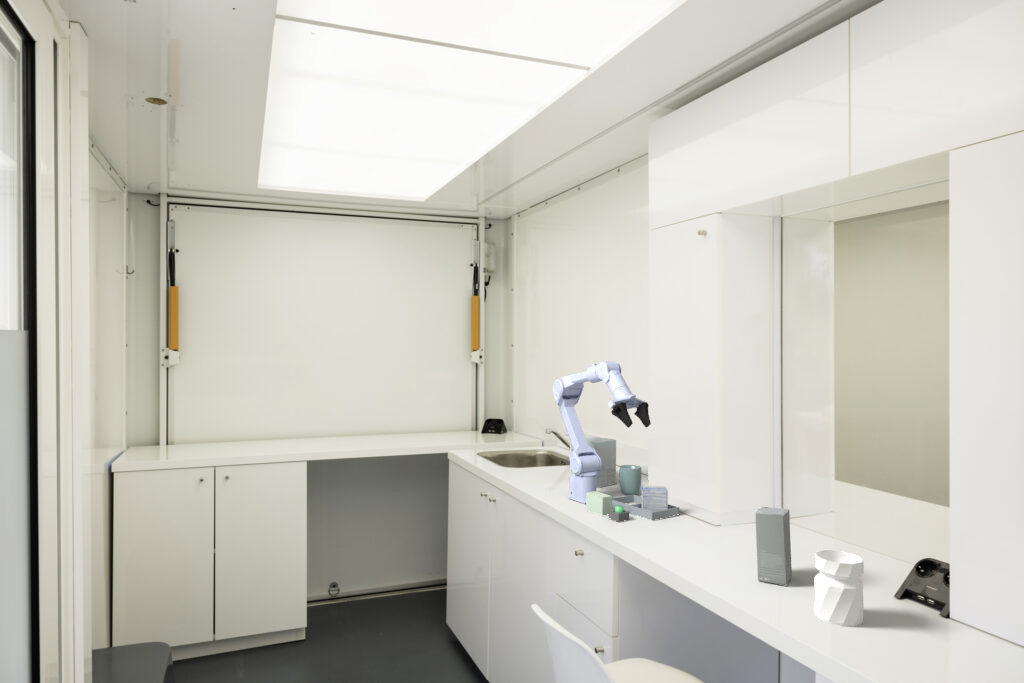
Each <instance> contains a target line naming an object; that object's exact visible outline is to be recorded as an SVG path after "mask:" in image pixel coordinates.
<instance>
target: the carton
mask: <svg viewBox="0 0 1024 683" xmlns="http://www.w3.org/2000/svg"><path fill="white" fill-rule="evenodd" d="M612 498H613V496H612V495H610V494H606V493H602V492H599V491H597V490H596V491H594V492H587V493H586V503H585V511H586V510H589V511H591V512H595V513H597V514H601V515H607V514H609V511H611V510H613V508H612ZM591 512H590V513H591ZM597 514H596V515H597Z"/></svg>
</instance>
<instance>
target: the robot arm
mask: <svg viewBox="0 0 1024 683" xmlns="http://www.w3.org/2000/svg"><path fill="white" fill-rule="evenodd" d="M621 366H622V365H621V364H620V362H618V361H601V362H600V363H598V364H597V363H593V364H591V366H589V367H588V368H587V369H586V371H583V372H579V373H573V374H569V375H565V376H561V377H560V378H557V379H555V381H554V382H553V383H552V384H553V385H552V390H551V391H552V394H553V397H554V400H555V402H556V403H555V404H556V405H557V407H558V410H559V412H560V413H559V414H560V415H561V418H562V421H563V424H564V428H565V430H566V433H567V436H568V439H569V442H570V441H571V444H572V447H573V452H572V453H571V454H570V453H569V456H568V459H569V466H570V465H571V469H572V471H573V473H574V474H572V476H571V478H570V477H569V496H567V499H569V500H572V501H575V502H578V503H581V504H586V493H587V492H594V491H596V492H597V488H596V475H598V472H599V471H600V470H601V467H602V461H601V459H600V457H599V456H598V455H597V453H596V450H595V449H593V448H591V447H590V446H588V444H587V441H586V439H585V437H586V436H585V433H584V431H583V428H582V426H581V422H580V420H579V417H578V414H577V412H576V409H575V405H577V404H578V403H579V401H580V398H581V396H582V393H583V390H584V388H585V387H584V383H586V382H590V383H592V384H594V383H595V384H596V383H598V382H603V383H604V384H606V386H607V388H608V389H609V391H610V392H611V395H612V397H613V399H610V400H609V401H608V403H607V405H608V407H609V409H611V411H610V412H611V415H612V416H614V417H616V418H618V419H619V420H620V421H621V422H622V423H623V425H625V426H626V427H627V429H628V428H630V427H632V425H633V424H634V423H633V421H632V418H631V416H630V413H629V411H628V410H630V409H634V408H635V409H636V410H635V412H634V415H635V416H636V417H637V418H638V419H639V420H640V422H641V423H642V425H643V426H644V427H645V428H648V427H649V426H650V425H651V424H652V423H651V419H650V418H651V417H650V415H649V406H650V405H649V403H648V402H646V401H645V400H642V399H640V398H639V397H638V398H637V395H636V394H633V393H632V391H631V390H630V387H629V386H628V383H627V382H626V379H625V378H624V377H623V375H622V367H621ZM570 463H571V464H570Z"/></svg>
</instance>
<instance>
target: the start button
mask: <svg viewBox="0 0 1024 683" xmlns="http://www.w3.org/2000/svg"><path fill="white" fill-rule="evenodd" d="M614 510H615V512H617V513H623V506H619V505H618V506H615V508H614Z"/></svg>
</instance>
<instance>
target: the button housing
mask: <svg viewBox="0 0 1024 683" xmlns="http://www.w3.org/2000/svg"><path fill="white" fill-rule="evenodd" d="M609 518H611V519H613V520H612V521H614V520H616V521H615V522H617V521H622V522H625V521H624V520H627V521H630V513H629V512H628V511H625V510H623V513H617V512H615V509H612V510H611V511H609V515H608V519H609ZM611 519H610V520H611Z"/></svg>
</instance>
